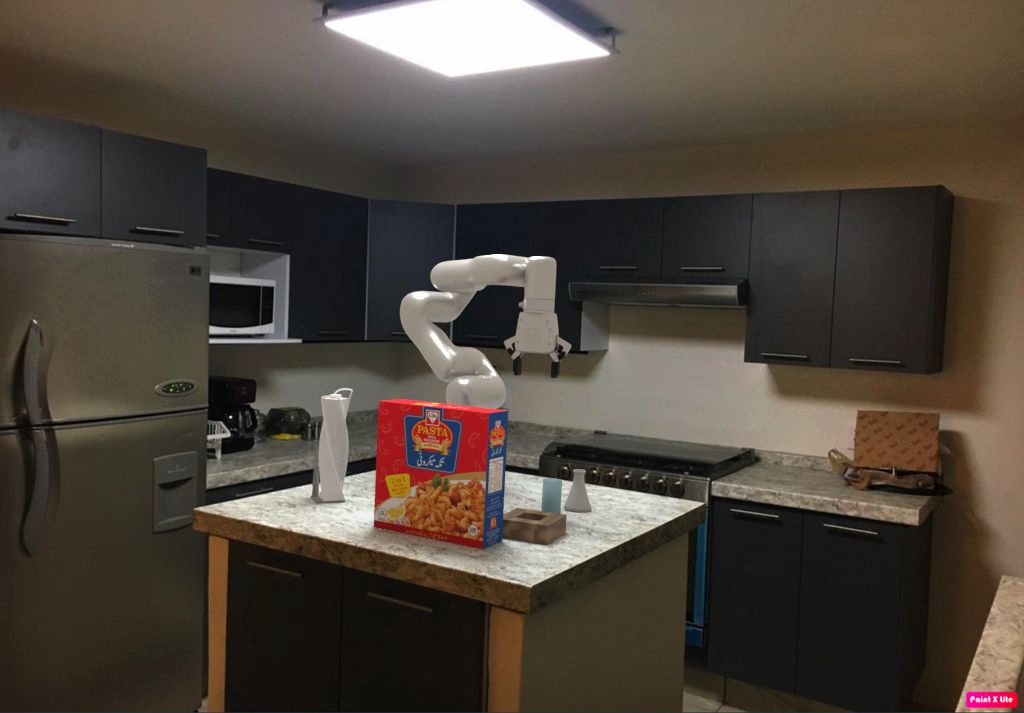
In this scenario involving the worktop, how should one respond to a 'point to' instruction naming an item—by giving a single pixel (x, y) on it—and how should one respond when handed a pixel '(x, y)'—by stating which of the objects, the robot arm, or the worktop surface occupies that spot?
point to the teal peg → (551, 495)
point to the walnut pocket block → (533, 525)
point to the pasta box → (441, 471)
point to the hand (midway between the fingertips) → (535, 376)
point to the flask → (578, 494)
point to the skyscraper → (332, 450)
